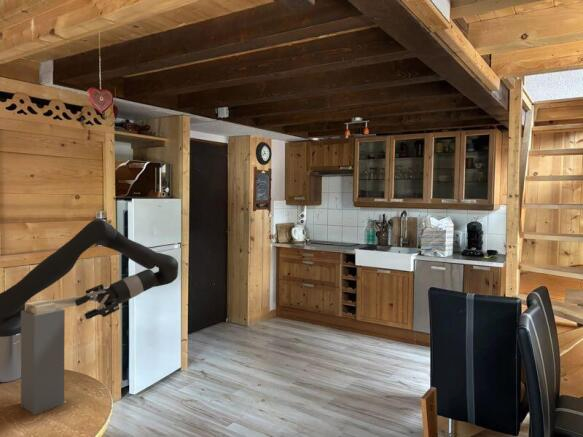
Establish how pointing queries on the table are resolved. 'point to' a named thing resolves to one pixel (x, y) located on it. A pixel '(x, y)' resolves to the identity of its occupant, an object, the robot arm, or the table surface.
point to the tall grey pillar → (42, 360)
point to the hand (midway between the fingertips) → (80, 310)
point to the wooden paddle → (50, 305)
